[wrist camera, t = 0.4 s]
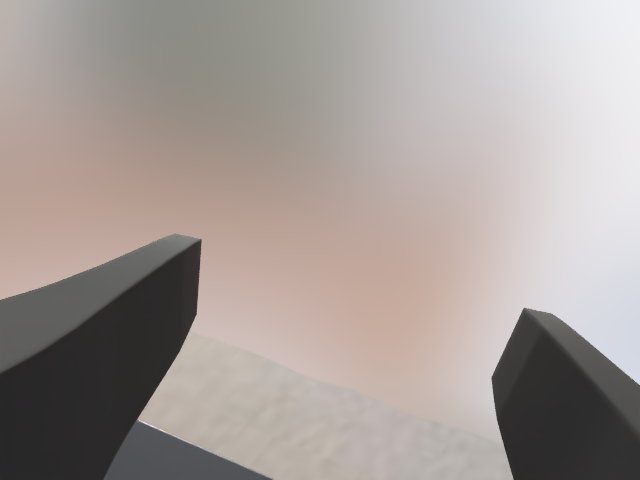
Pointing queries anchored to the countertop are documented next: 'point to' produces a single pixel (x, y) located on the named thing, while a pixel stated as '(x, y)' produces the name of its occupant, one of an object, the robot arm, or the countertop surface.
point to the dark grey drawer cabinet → (171, 459)
